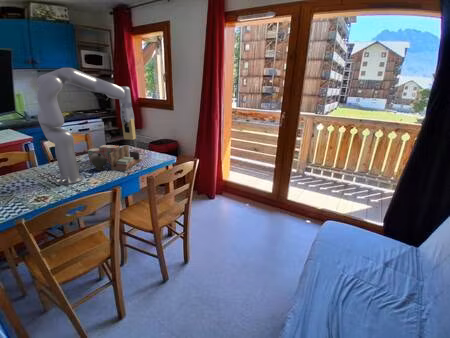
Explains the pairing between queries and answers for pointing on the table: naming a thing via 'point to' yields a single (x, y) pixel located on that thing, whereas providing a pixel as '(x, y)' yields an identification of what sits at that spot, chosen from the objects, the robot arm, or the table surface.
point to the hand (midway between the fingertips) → (129, 131)
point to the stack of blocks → (103, 151)
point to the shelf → (120, 155)
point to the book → (131, 134)
